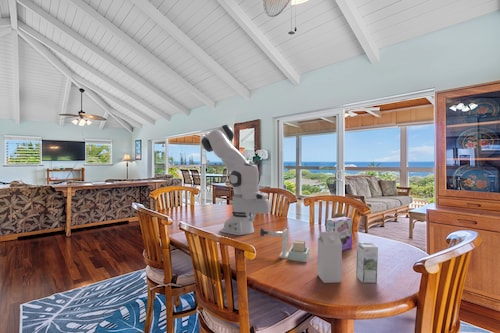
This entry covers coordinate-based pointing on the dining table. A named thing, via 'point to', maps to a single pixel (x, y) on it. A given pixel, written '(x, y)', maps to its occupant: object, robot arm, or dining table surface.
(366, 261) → the syrup box
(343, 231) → the candy box
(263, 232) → the shaft
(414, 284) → the dining table surface
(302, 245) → the block
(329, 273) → the milk carton
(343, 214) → the fruit
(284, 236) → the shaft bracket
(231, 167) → the robot arm
